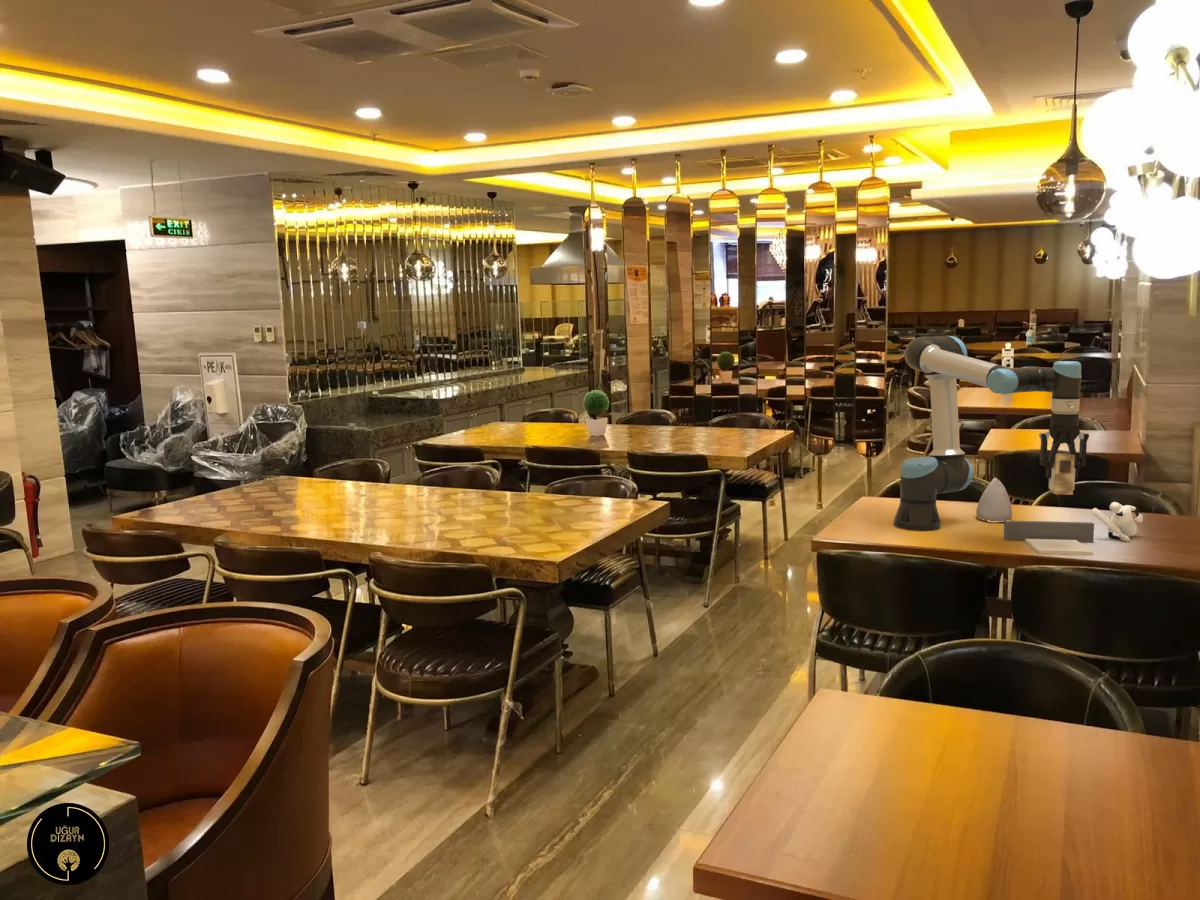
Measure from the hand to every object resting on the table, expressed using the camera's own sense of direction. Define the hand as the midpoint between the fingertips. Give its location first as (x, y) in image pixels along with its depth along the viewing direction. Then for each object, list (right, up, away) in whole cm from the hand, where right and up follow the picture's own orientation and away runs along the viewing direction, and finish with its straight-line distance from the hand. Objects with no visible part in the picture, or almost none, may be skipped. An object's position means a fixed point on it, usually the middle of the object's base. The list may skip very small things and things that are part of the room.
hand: (1061, 488), depth 276 cm
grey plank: (+2, -17, +12) cm, 21 cm away
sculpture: (-1, -13, +44) cm, 46 cm away
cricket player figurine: (+26, -17, +13) cm, 33 cm away
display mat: (0, -18, +3) cm, 18 cm away
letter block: (0, -1, 0) cm, 1 cm away
